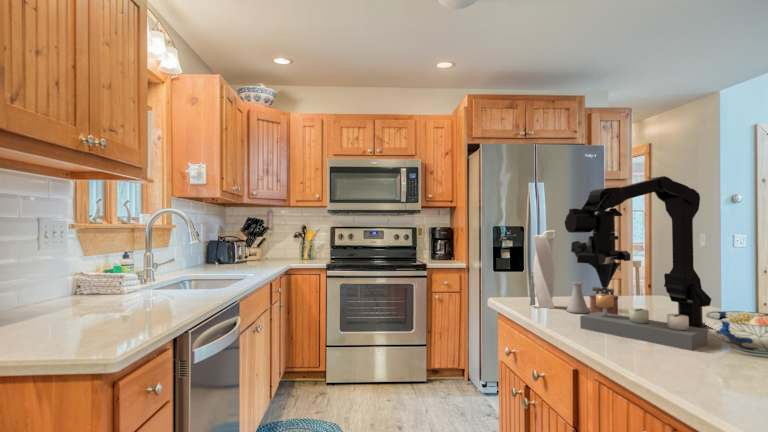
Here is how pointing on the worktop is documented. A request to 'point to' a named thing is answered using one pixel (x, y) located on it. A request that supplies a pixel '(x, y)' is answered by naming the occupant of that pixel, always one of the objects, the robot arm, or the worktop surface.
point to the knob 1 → (604, 302)
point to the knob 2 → (678, 321)
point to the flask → (577, 300)
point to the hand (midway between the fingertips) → (604, 287)
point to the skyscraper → (543, 272)
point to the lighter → (596, 308)
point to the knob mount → (645, 330)
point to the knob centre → (639, 315)
